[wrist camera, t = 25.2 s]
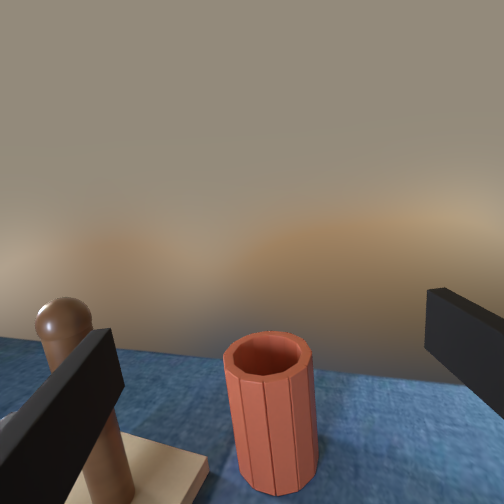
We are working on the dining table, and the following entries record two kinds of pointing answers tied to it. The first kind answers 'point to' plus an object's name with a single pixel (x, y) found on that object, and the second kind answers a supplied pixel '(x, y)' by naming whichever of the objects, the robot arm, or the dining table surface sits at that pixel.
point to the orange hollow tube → (273, 410)
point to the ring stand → (118, 434)
